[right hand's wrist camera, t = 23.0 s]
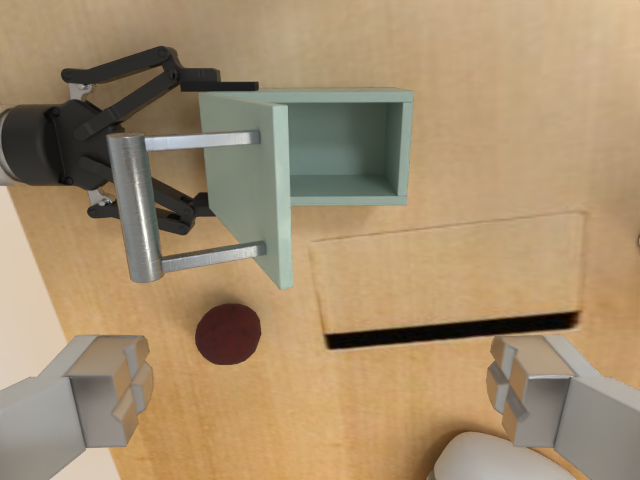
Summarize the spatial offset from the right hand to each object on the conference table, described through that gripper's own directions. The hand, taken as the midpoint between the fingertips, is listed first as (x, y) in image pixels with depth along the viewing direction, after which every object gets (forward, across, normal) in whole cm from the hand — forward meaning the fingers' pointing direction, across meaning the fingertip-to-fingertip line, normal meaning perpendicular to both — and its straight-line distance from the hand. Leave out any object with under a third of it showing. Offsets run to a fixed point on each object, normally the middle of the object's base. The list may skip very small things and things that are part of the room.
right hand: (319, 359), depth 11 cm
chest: (+40, +1, 0) cm, 40 cm away
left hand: (+34, +6, 0) cm, 34 cm away
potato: (+40, +11, +22) cm, 47 cm away
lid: (+22, +5, 0) cm, 22 cm away
